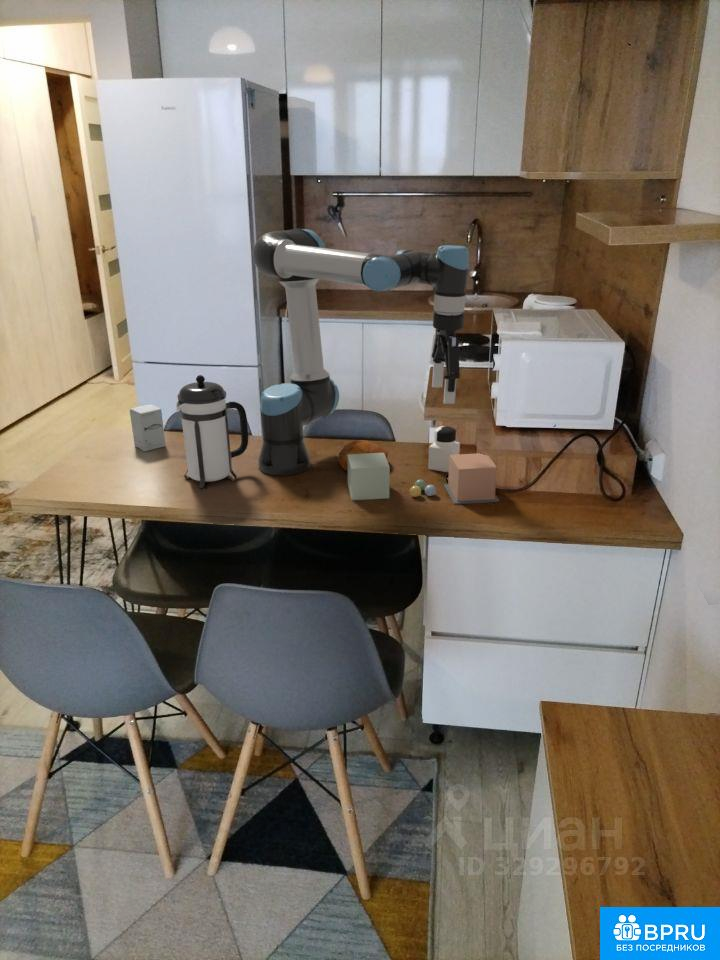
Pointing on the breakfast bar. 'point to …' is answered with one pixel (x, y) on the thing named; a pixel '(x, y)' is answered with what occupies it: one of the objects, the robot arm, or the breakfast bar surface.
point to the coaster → (467, 501)
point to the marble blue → (430, 490)
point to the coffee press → (208, 431)
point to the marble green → (420, 484)
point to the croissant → (358, 450)
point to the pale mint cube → (368, 476)
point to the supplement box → (147, 427)
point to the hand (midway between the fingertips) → (442, 395)
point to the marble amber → (415, 491)
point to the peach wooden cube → (472, 477)
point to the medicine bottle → (443, 448)
